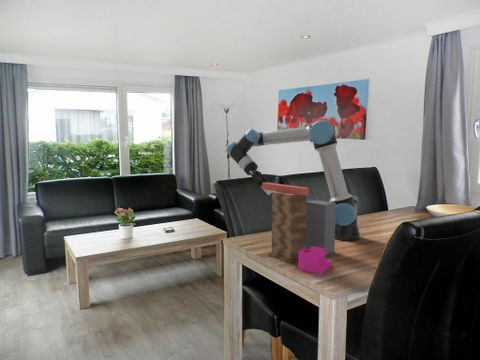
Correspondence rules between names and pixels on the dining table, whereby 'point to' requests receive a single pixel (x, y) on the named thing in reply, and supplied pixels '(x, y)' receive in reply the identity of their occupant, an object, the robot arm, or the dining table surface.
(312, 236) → the block
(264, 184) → the lever bar
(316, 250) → the bracket
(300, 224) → the tower
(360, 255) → the dining table surface
